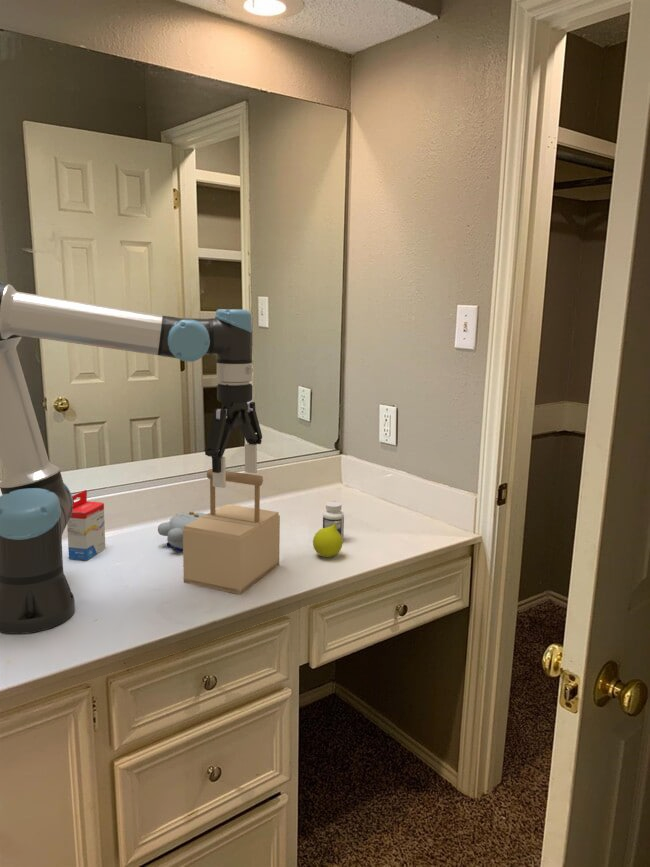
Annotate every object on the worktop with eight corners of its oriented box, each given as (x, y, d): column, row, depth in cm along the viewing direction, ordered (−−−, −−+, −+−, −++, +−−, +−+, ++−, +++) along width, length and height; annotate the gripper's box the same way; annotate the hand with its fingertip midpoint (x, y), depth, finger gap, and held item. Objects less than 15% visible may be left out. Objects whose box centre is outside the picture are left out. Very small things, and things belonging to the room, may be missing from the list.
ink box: (87, 561, 152) (84, 500, 149) (67, 559, 153) (64, 498, 150) (106, 548, 160) (104, 490, 157) (88, 546, 161) (85, 488, 158)
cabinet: (240, 594, 136) (240, 535, 134) (183, 582, 141) (182, 525, 139) (279, 564, 152) (279, 511, 150) (227, 554, 158) (227, 503, 155)
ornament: (347, 559, 157) (348, 519, 155) (320, 563, 154) (321, 522, 152) (333, 549, 163) (334, 510, 161) (307, 553, 160) (308, 514, 158)
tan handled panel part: (227, 507, 155) (226, 461, 153) (278, 515, 150) (279, 468, 148) (205, 518, 147) (205, 469, 145) (259, 527, 142) (259, 477, 140)
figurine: (178, 561, 152) (250, 552, 165) (181, 526, 151) (254, 519, 164) (146, 540, 165) (216, 533, 178) (149, 507, 164) (219, 502, 177)
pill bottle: (328, 535, 173) (329, 499, 171) (346, 539, 171) (347, 503, 169) (318, 541, 169) (319, 504, 167) (337, 545, 166) (338, 508, 164)
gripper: (218, 390, 127) (220, 495, 131) (276, 378, 149) (276, 468, 153) (186, 387, 129) (188, 491, 134) (248, 376, 152) (248, 465, 156)
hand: (235, 479), depth 143 cm, fingers open, 13 cm apart
